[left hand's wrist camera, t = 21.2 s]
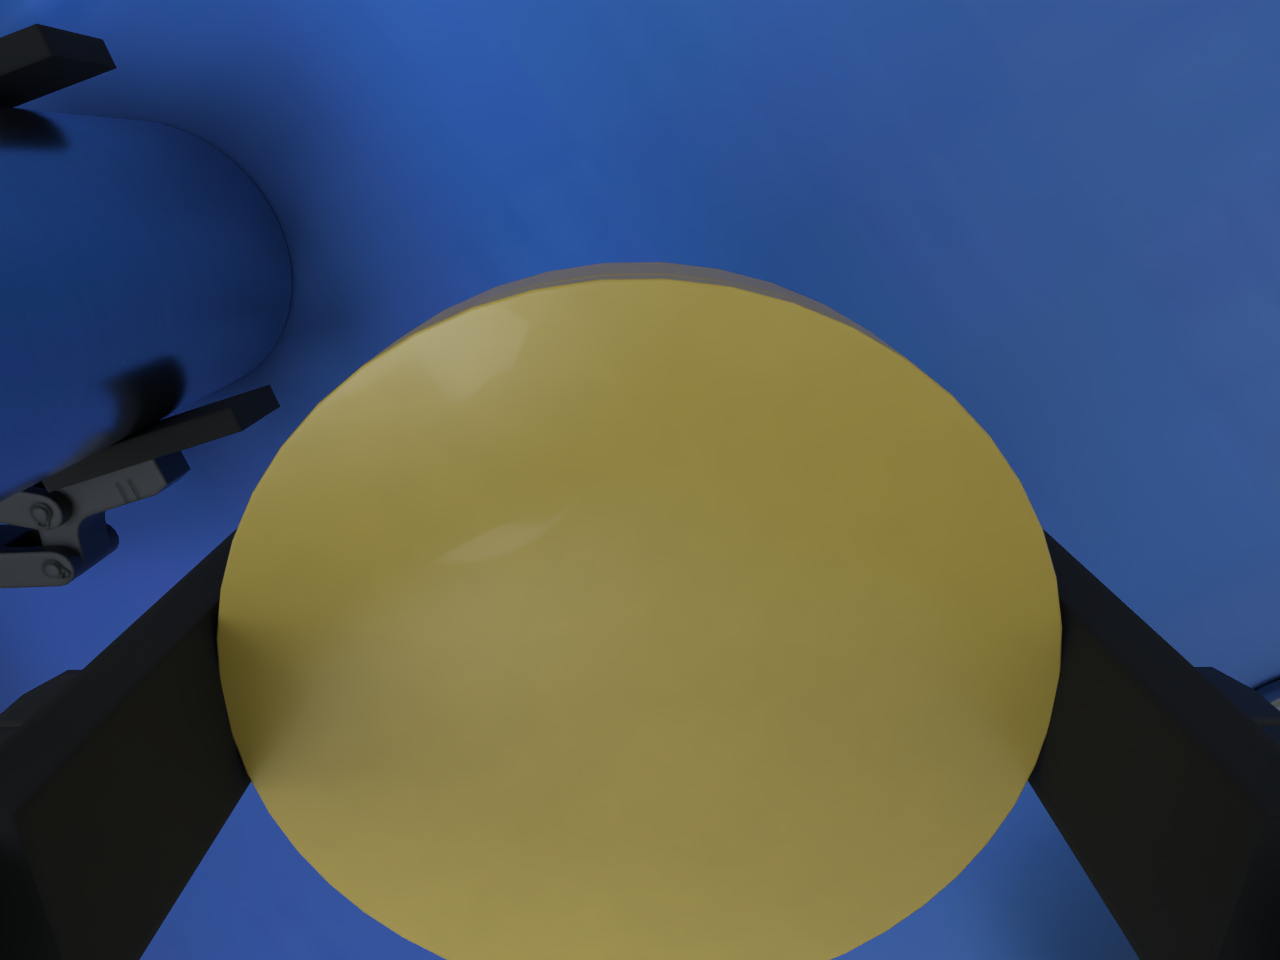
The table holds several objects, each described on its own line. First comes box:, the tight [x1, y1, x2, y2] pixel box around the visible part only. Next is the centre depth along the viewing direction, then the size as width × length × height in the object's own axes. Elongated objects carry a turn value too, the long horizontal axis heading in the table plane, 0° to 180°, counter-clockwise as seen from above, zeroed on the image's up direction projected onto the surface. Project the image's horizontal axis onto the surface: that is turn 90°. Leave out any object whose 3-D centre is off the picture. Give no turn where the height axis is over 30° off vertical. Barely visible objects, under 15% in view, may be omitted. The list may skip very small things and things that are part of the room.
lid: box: [217, 262, 1062, 960], centre depth 11 cm, size 11×11×2 cm
